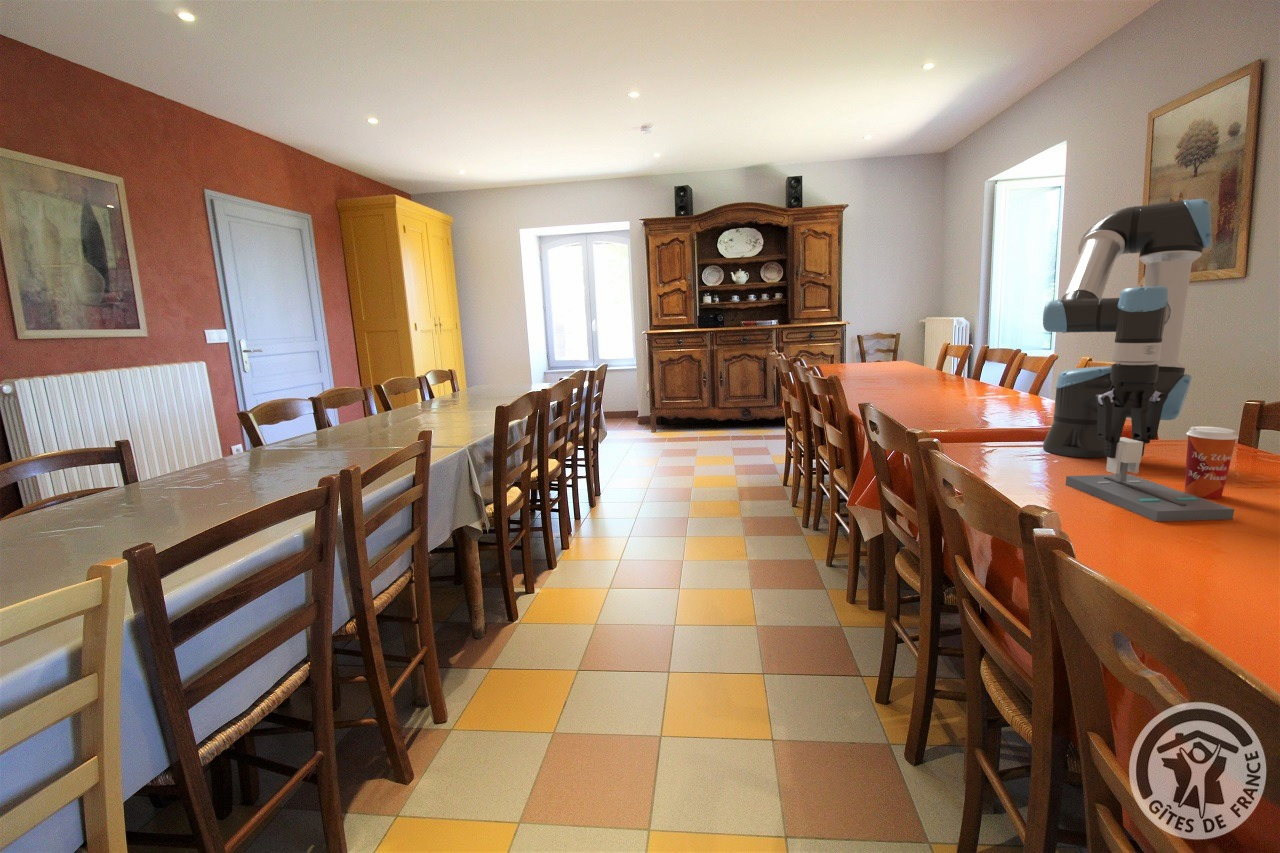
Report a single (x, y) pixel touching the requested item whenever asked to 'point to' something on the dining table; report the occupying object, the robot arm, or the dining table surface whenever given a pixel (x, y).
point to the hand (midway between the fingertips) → (1121, 471)
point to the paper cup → (1208, 460)
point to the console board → (1150, 498)
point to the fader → (1129, 456)
